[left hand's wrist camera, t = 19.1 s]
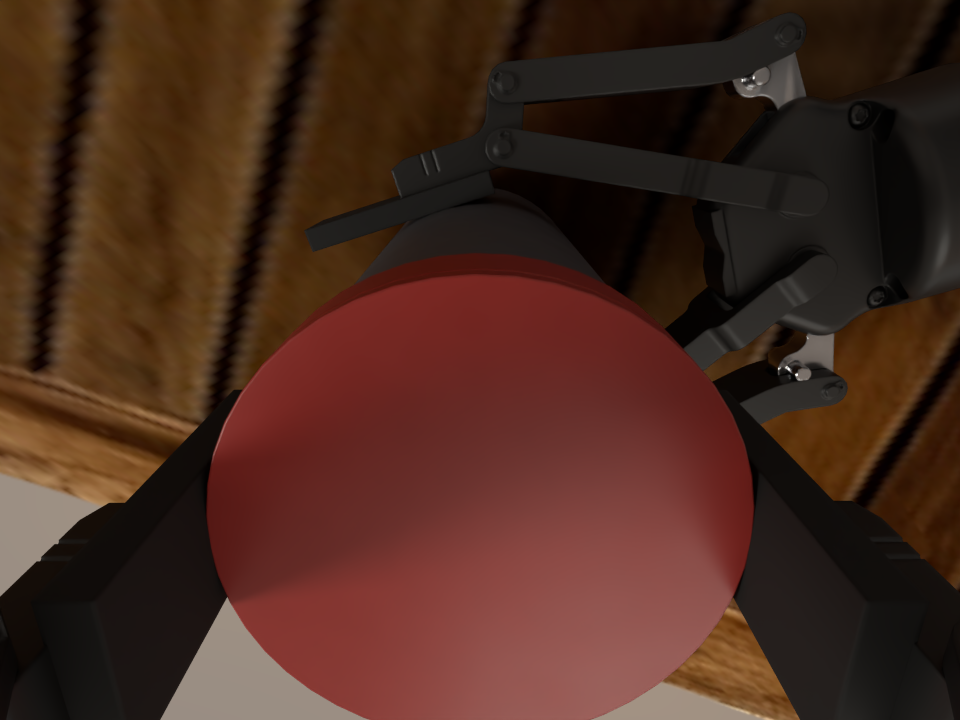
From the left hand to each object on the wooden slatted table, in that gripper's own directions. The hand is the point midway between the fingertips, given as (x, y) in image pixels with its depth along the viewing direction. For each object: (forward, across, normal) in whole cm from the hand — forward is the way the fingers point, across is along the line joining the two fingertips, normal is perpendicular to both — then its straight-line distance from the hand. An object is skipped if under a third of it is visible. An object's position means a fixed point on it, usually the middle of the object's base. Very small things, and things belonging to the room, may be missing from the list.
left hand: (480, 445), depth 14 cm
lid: (-3, 0, 0) cm, 3 cm away
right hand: (+10, -4, -1) cm, 11 cm away
